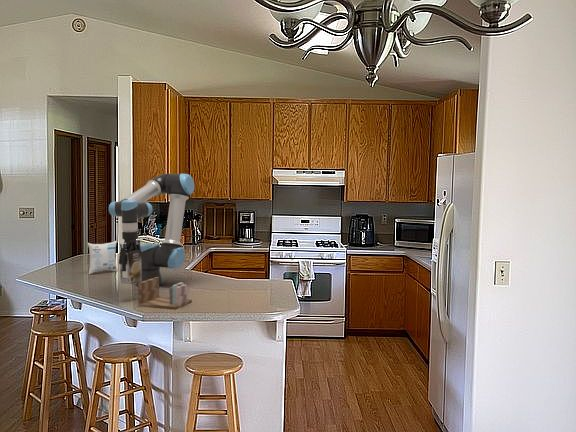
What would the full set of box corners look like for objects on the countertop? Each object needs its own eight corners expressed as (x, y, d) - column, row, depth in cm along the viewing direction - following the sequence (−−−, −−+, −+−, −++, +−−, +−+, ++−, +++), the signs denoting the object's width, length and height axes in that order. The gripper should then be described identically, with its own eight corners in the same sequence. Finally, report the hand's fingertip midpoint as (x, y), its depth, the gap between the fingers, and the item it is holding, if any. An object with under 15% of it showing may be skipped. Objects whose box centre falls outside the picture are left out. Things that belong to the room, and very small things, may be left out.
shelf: (156, 298, 278) (156, 277, 277) (191, 302, 272) (191, 279, 271) (138, 306, 263) (138, 282, 262) (175, 309, 257) (175, 285, 256)
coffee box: (130, 285, 270) (129, 252, 268) (120, 283, 272) (119, 251, 271) (142, 281, 278) (141, 249, 277) (132, 280, 281) (131, 249, 279)
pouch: (120, 272, 351) (119, 241, 349) (89, 275, 339) (89, 243, 337) (115, 270, 357) (115, 240, 355) (85, 273, 345) (85, 242, 344)
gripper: (136, 228, 284) (137, 271, 287) (109, 233, 264) (111, 279, 266) (148, 228, 282) (149, 271, 284) (123, 234, 261) (124, 280, 264)
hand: (131, 275), depth 275 cm, fingers closed on coffee box, 9 cm apart
